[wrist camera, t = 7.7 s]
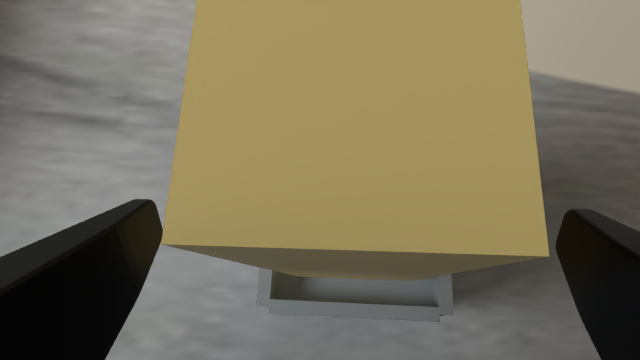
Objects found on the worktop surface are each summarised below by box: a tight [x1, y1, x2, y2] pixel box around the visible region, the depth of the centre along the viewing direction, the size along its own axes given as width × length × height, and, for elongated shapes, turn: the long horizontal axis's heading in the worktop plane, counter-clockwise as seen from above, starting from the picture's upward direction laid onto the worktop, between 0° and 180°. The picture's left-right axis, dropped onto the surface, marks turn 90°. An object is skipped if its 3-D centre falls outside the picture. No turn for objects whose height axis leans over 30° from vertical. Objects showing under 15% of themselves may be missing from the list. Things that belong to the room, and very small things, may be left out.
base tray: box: [257, 268, 454, 322], centre depth 18 cm, size 7×7×4 cm
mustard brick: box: [161, 0, 549, 281], centre depth 11 cm, size 4×4×12 cm
